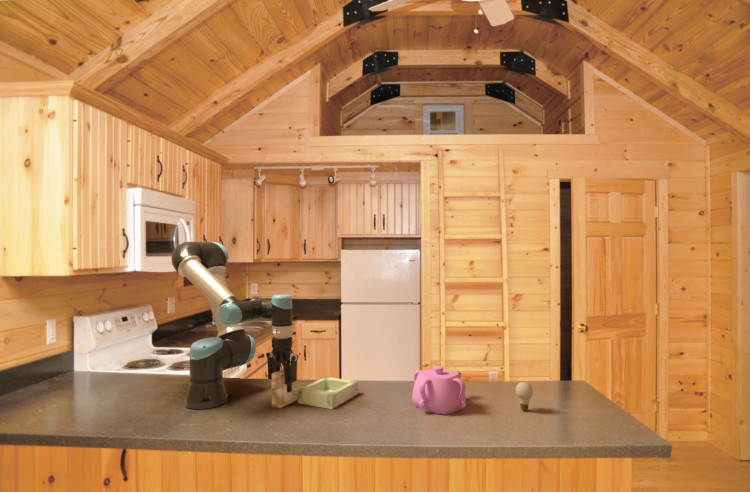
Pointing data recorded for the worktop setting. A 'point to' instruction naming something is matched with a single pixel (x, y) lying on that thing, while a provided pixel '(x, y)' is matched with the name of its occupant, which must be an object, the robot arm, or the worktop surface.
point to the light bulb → (524, 394)
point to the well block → (327, 392)
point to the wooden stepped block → (280, 390)
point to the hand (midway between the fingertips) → (282, 399)
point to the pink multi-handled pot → (439, 391)
